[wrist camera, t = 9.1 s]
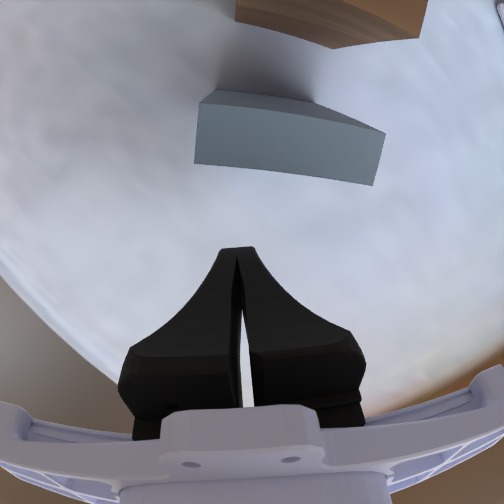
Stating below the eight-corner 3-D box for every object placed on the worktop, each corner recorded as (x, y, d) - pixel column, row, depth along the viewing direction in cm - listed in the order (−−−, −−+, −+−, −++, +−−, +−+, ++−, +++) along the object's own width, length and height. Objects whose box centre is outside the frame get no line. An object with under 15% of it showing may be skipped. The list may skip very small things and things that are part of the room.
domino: (332, 49, 13) (418, 38, 6) (234, 21, 12) (239, -29, 5) (340, 23, 12) (429, -5, 5) (243, -6, 11) (256, -74, 4)
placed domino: (309, 132, 15) (372, 186, 8) (211, 120, 15) (194, 163, 8) (314, 102, 14) (385, 133, 8) (215, 89, 14) (199, 103, 7)
